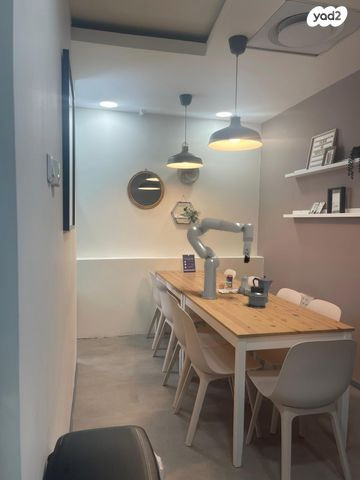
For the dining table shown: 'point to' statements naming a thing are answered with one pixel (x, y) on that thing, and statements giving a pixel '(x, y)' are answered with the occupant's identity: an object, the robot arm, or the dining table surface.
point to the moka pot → (263, 284)
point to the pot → (257, 301)
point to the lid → (257, 291)
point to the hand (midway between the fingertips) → (246, 262)
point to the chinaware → (244, 286)
